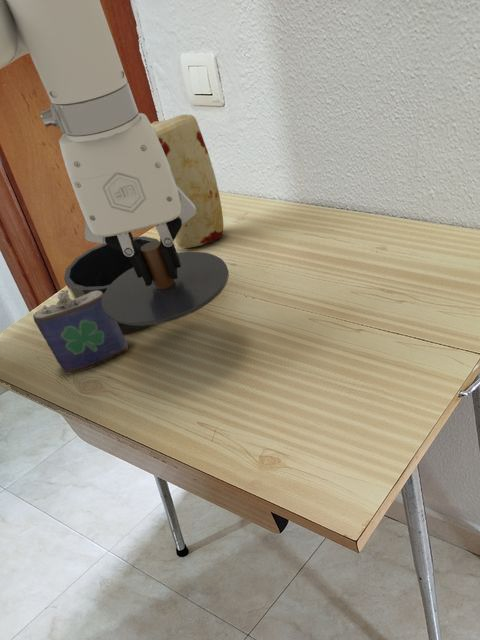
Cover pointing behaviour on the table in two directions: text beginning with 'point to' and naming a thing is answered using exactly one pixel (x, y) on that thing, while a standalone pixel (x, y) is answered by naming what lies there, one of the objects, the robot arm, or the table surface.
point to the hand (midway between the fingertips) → (161, 275)
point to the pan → (100, 272)
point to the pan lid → (165, 288)
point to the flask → (80, 331)
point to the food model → (192, 178)
